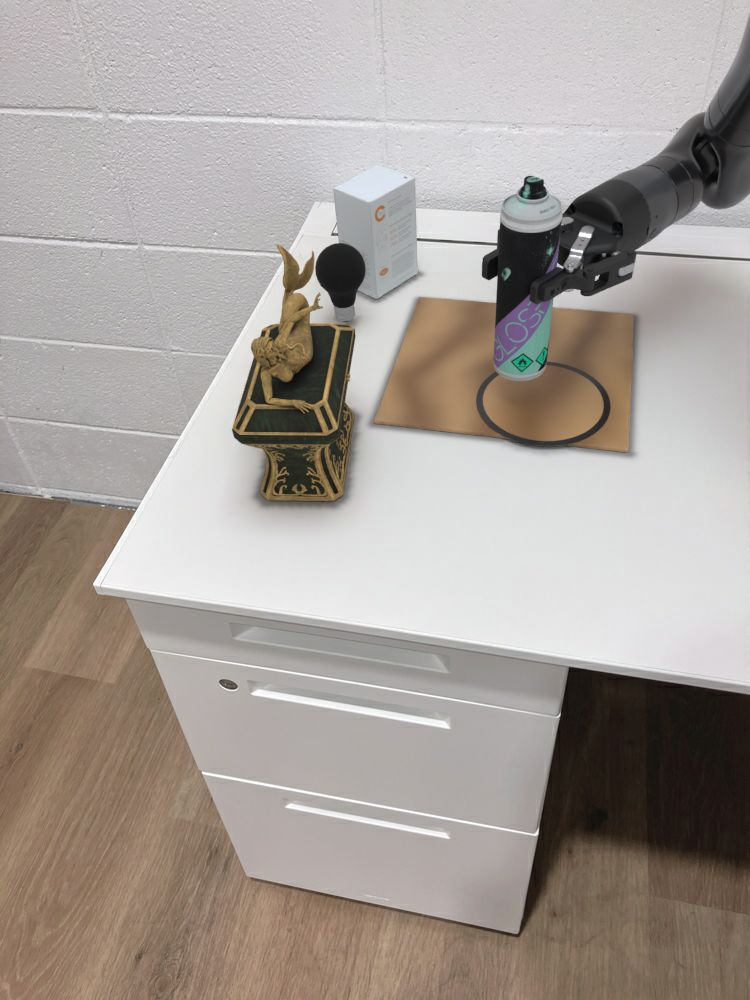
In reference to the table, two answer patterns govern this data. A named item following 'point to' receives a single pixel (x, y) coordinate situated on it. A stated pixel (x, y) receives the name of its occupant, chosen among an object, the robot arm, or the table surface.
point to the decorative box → (299, 398)
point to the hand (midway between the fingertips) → (508, 282)
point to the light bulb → (341, 277)
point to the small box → (379, 226)
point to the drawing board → (507, 403)
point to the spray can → (525, 279)
